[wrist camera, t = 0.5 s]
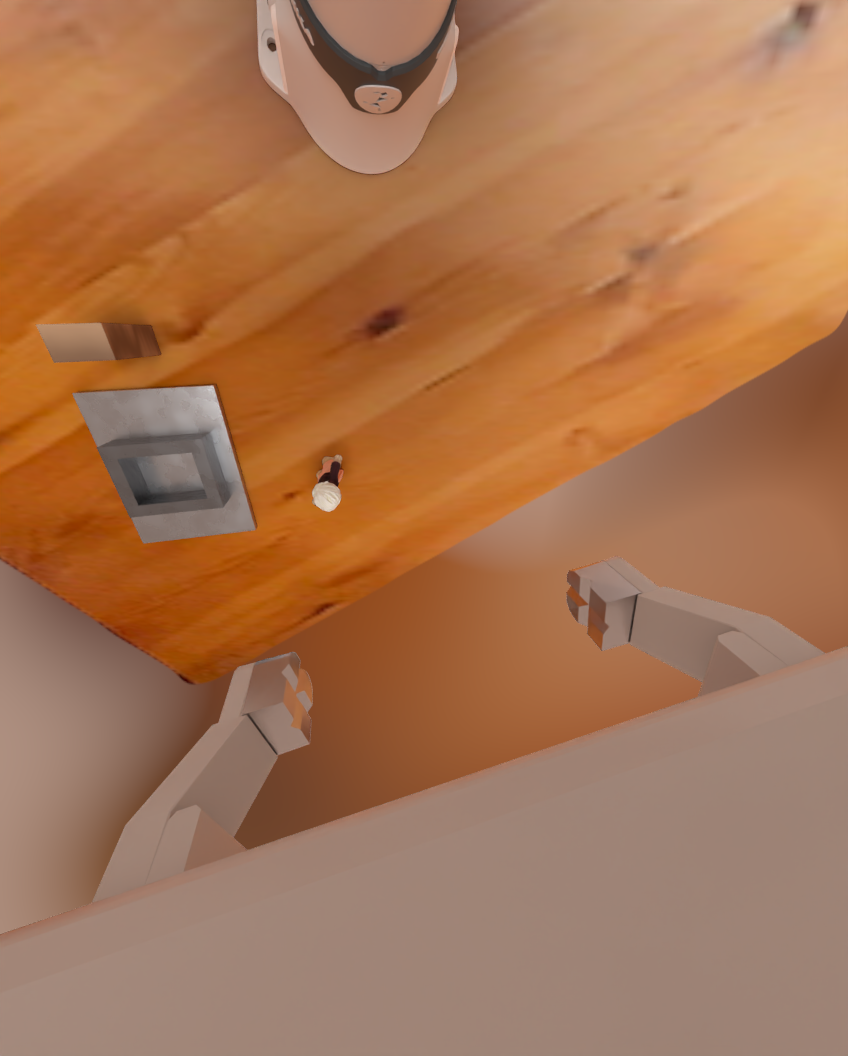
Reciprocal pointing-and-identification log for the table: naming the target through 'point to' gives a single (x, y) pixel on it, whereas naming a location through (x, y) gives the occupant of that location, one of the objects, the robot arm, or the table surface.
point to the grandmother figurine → (328, 484)
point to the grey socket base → (170, 460)
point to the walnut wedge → (98, 341)
